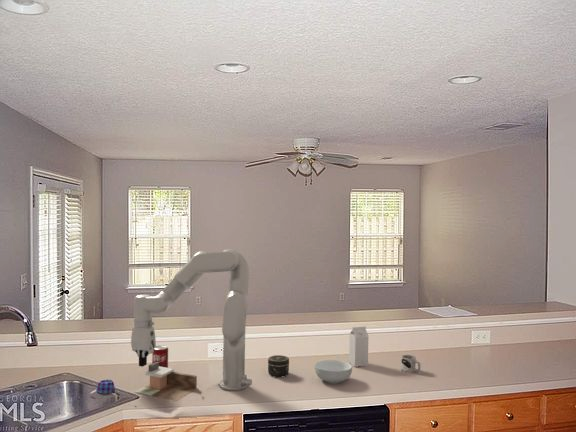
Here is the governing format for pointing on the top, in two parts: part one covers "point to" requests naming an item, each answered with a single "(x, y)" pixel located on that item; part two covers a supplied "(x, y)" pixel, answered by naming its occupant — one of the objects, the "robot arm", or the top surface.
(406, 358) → the mug
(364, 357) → the milk carton
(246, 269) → the robot arm
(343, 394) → the top surface
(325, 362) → the cereal bowl
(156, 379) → the terracotta block
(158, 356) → the soda can
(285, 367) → the jar
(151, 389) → the puzzle board
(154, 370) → the sliding lid
